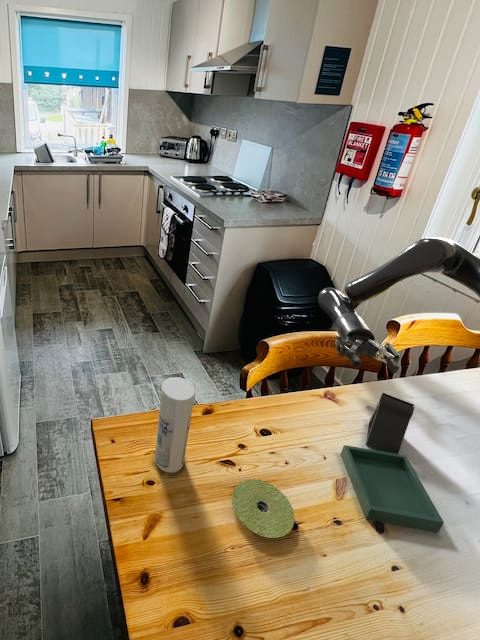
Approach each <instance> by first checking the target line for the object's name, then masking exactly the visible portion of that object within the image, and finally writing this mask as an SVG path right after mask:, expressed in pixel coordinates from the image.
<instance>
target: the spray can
mask: <svg viewBox="0 0 480 640" xmlns="http://www.w3.org/2000/svg"><path fill="white" fill-rule="evenodd" d="M195 395H196V389H195V387H194V385H193V383H192V382H191V381H189V380H188V379H186V378H183V377H180V376H179V377H178V376H173V377H169V378H167V379H165V380H164V381H163V382H162V385H161V391H160V399H159V400H160V402H159V411H158V421H157V432H156V440H155V441H156V443H155V452H154V460H155V464H156V466H157V467H158V468H159V469H160V470H161V471H163V472H166V473H171V474H172V473H176V472H179V471H180V470H181V469H182V468H183V466H184V463H185V458H186V452H187V445H188V438H189V433H190V426H191V420H192V415H193V414H192V413H193V408H194V401H195V397H196V396H195Z"/></svg>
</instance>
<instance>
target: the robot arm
mask: <svg viewBox="0 0 480 640" xmlns="http://www.w3.org/2000/svg"><path fill="white" fill-rule="evenodd" d="M427 273H428V274H439V275H443V276H444V277H446V278H449V279H451V280H453V281H454V282H457V283H458V284H460V285H462V286H463V287H465V288H467V289H468V290H469V291H471V292H472V293H473V294H474V295H475V297H476V298H477V299H478V300H480V258H479V257H478V256H476V255H475V254H474V253H472V252H470V251H469V250H468V249H467V248H464V246H462V245H461V244H459V243H457V242H456V241H454V240H452V239H448V238H443V237H434V236H433V237H424V238H420V239H418V240H417V241H415V242H414V243H412V244H411V245H409V246H408V247H406V248H405V249H404V250H402V251H401V252H400V253H398V254H397V255H396V256H395V257H393V258H391V259H389V260H388V261H387V262H385V263H383V264H382V265H381V266H379V267H377V268H375V269H373V270H371V271H369V272H367V273H365V274H363V275H361V276H359V277H357V278H355V279H353V280H351V281H349V282H348V283H346V285H345V286H344V293H345V294H344V293H343V292H341V291H339V290H338V289H337V288H334V287H325V288H323V289H322V290H320V291H319V293H318V296H317V303H318V305H319V306H320V308H321V309H322V310H323V312H324V313H326V314H327V315H328V316H329V317H330V319H331V320H332V323H333V324H334V326H335V328H336V331H337V333H338V334H339V335H338V336H336V337H335V341H334V343H333V345H334V347H335V350H336V353H337V355H338V356H339V357H341V358H344V357H346V359H347V360H349V362H350V364H351V365H352V366H354V367H355V369H360V368H361V364H362V361H361V359H360V357H359V356H358V355H360V356H367V357H371V358H372V359H374V360H376V361H380V362H383V363H385V364H386V366H387V368H388V369H389V371H390V372H391V374H397V373H398V371H399V369H400V365H399V361H400V358H401V354H400V353H399V352H398V351H397V349H396V348H394V346H393V345H392V344H391V343H390V342H385V344H380V343H379V342H377V340H376V338H375V335H374V333H373V332H372V330H371V329H370V328H369V326H368V325H367V323H366V322H365V320H364V319H363V318H362V317H361V316H360V314H359V313H358V312H357V311H356V310H357V308H359V307H360V306H361V305H362V304H363V303H366V302H367V301H370V300H372V299H374V298H376V297H379V296H380V295H382V294H385V293H386V292H387V291H389V290H390V289H391V288H393V287H394V286H395V285H397V284H398V283H400V282H402V281H404V280H406V279H409V278H411V277H414V276H419V275H422V274H427ZM347 348H348V349H347ZM378 352H379V353H378ZM386 357H387V358H386Z"/></svg>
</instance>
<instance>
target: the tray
mask: <svg viewBox="0 0 480 640" xmlns="http://www.w3.org/2000/svg"><path fill="white" fill-rule="evenodd" d="M340 457H341V460H342V463H343V465H344V468H345V471H346V472H347V476H348V478H349V480H350V484H351V485H352V489H353V491H354V494H355V495H356V498H357V501H358V503H359V506H360V509H361V511H362V513H363V517H364V519H365V520H366V521H371V522H372V521H373V522H377V523H383V524H388V525H393V526H399V527H405V528H410V529H415V530H421V531H425V532H431V533H435V534H436V533H437V534H439V533H440V531H441V529H442V528H443V526H444V524H445V522H444V520H443V518H442V516H441V515H440V513H439V511H438V510H437V507H436V505H435V504H434V502H433V501H432V499H431V497H430V495H429V494H428V492H427V490H426V488H425V486H424V484H423V483H422V481H421V480H420V478H419V476H418V474H417V472H416V471H415V469H414V467H413V465H412V464H411V461H410V460H409V458H408V457H407V455H406V454H401V453H398V454H396V453H389V452H383V451H379V450H377V449H372V448H365V447H358V446H352V445H346V444H345V445H344V444H343V445H342V449H341V452H340Z"/></svg>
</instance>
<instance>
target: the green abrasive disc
mask: <svg viewBox="0 0 480 640" xmlns="http://www.w3.org/2000/svg"><path fill="white" fill-rule="evenodd" d="M231 504H232V507H233V510H234V512H235V515H236V516H237V518H238V519H239V520H240V522H241V523H242V524H243V525H244V526H245V527H246V528H247V529H249V530H250V531H251V532H253V533H254V534H256V535H258V536H261V537H265V538H269V539H275V538H282V537H285V536H286V535H287V534H289V533H290V532H291V530H292V529H293V527H294V525H295V513H294V508H293V506H292V504H291V502H290V500H289V499H288V498H287V497H286V495H285V494H284V493H283V492H282V491H281V490H280V489H279V488H277V487H276V486H274V484H272V483H270V482H267V481H265V480H262V479H255V478H253V479H252V478H249V479H245V480H242V481H240V482H239V483H238V484H236V485H235V486H234V489H233V491H232V495H231Z"/></svg>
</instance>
